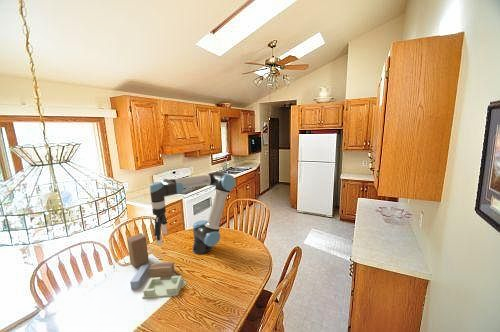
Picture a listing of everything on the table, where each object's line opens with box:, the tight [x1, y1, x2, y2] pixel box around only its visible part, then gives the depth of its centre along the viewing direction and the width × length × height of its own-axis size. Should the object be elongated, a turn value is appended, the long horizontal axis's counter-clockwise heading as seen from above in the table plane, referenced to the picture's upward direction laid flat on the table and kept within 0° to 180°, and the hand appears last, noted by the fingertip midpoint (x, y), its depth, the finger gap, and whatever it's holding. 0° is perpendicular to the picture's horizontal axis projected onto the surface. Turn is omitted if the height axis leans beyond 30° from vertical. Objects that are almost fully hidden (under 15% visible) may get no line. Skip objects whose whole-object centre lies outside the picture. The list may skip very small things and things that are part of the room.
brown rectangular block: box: [148, 261, 176, 279], centre depth 138 cm, size 6×14×7 cm, turn 94°
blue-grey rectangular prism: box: [129, 264, 150, 290], centre depth 135 cm, size 16×4×5 cm, turn 4°
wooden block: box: [126, 232, 150, 268], centre depth 151 cm, size 10×10×20 cm
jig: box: [141, 275, 184, 299], centre depth 126 cm, size 13×20×4 cm, turn 94°
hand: (162, 238), depth 132 cm, fingers open, 13 cm apart
